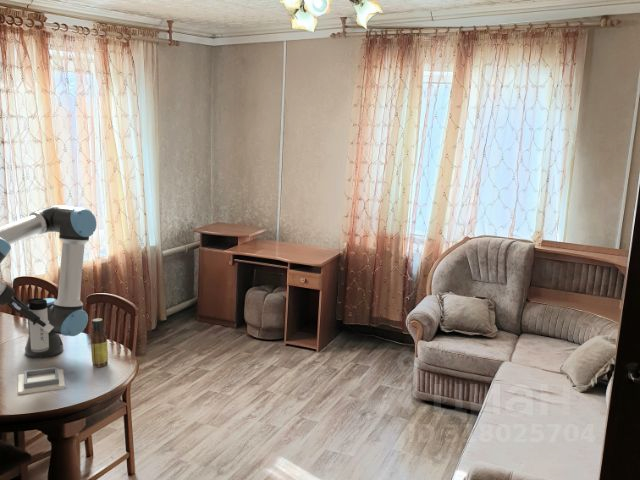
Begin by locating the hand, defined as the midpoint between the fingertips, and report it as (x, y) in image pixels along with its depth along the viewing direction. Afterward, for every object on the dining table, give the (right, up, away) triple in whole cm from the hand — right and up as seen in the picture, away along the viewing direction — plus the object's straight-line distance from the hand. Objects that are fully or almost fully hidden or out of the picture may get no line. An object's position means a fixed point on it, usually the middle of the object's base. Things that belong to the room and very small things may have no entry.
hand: (48, 326), depth 229 cm
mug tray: (-4, -22, +2) cm, 22 cm away
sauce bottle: (+12, -19, +21) cm, 31 cm away
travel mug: (-3, -9, 0) cm, 9 cm away
